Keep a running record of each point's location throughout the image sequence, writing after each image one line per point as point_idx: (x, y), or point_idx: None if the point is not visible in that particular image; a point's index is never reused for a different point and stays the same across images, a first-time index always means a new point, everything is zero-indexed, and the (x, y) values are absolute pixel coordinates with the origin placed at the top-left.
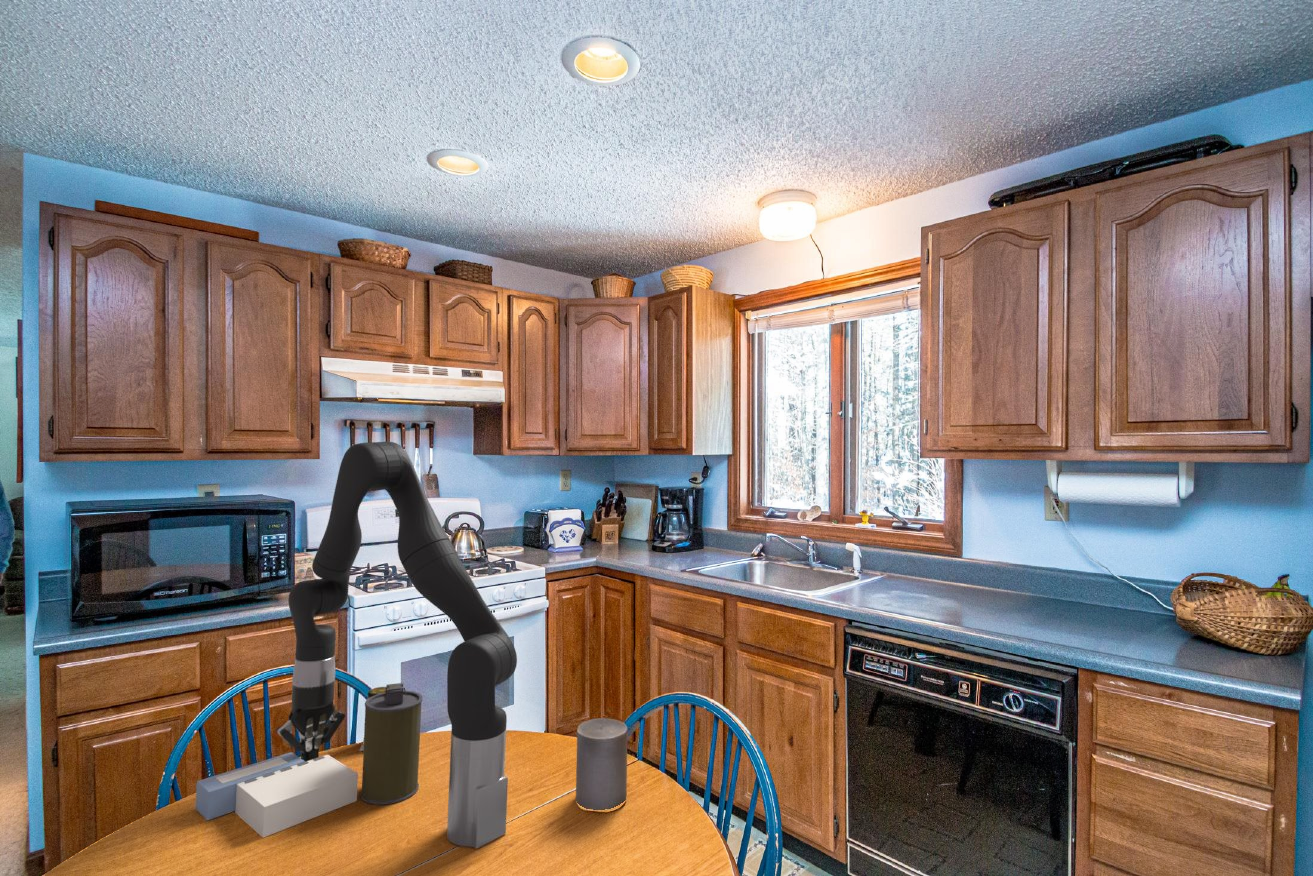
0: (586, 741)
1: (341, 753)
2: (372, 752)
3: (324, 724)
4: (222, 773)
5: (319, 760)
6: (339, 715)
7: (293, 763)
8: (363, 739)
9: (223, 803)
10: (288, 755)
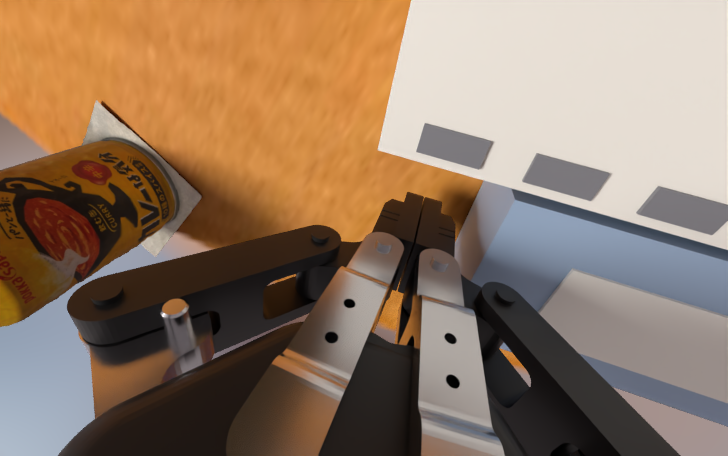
0: None
1: (246, 236)
2: None
3: (296, 334)
4: None
5: (472, 120)
6: (116, 326)
7: (569, 236)
8: (164, 243)
9: None
10: None
